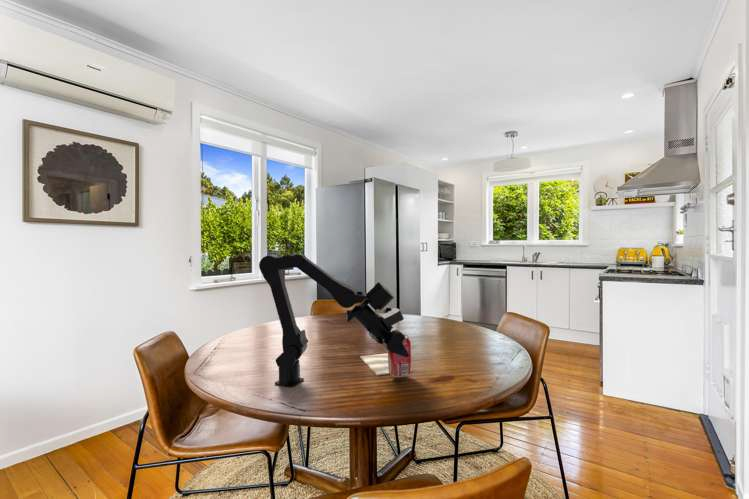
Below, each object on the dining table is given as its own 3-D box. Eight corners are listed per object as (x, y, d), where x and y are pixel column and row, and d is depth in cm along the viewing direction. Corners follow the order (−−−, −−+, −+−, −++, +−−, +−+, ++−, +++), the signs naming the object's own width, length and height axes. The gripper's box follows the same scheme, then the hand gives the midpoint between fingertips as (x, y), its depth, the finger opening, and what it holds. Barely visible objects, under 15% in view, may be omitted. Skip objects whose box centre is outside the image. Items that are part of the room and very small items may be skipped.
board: (411, 371, 123) (411, 369, 123) (377, 375, 119) (377, 373, 119) (390, 354, 142) (390, 353, 142) (360, 357, 138) (360, 356, 138)
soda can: (397, 369, 122) (396, 332, 121) (415, 374, 117) (415, 335, 117) (383, 375, 116) (383, 336, 116) (402, 380, 112) (402, 340, 112)
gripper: (398, 304, 106) (433, 340, 110) (378, 296, 124) (408, 327, 128) (372, 334, 104) (408, 370, 107) (355, 321, 122) (387, 352, 125)
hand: (403, 352), depth 117 cm, fingers closed on soda can, 7 cm apart
